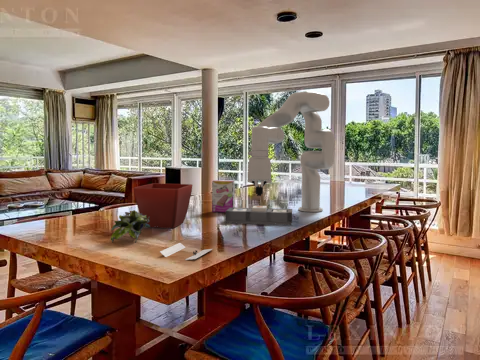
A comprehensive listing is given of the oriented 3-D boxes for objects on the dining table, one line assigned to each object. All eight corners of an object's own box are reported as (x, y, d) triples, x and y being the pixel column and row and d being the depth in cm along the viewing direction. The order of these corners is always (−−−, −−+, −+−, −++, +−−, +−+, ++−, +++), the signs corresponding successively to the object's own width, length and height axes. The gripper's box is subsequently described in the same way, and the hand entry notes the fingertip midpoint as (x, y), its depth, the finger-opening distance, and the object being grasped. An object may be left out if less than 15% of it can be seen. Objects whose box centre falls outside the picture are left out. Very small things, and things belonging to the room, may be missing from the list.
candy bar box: (211, 212, 186) (211, 180, 185) (213, 210, 191) (213, 179, 190) (233, 212, 185) (233, 180, 184) (234, 211, 190) (234, 180, 188)
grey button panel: (230, 217, 172) (230, 206, 172) (292, 219, 168) (292, 208, 167) (224, 223, 158) (224, 211, 158) (291, 225, 154) (292, 213, 154)
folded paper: (195, 262, 104) (195, 256, 103) (159, 258, 108) (159, 251, 108) (213, 252, 115) (213, 245, 115) (180, 248, 119) (180, 242, 119)
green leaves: (132, 253, 132) (150, 221, 137) (142, 255, 122) (161, 220, 127) (101, 237, 127) (120, 204, 132) (109, 238, 117) (130, 202, 122)
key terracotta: (253, 212, 166) (253, 205, 166) (266, 212, 165) (266, 205, 165) (252, 214, 160) (252, 207, 160) (265, 214, 159) (265, 207, 159)
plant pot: (177, 230, 143) (177, 188, 142) (133, 228, 147) (132, 187, 145) (193, 221, 162) (193, 184, 160) (153, 220, 165) (153, 183, 164)
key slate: (234, 214, 168) (234, 208, 167) (247, 215, 167) (247, 208, 166) (232, 217, 162) (232, 210, 161) (245, 217, 161) (245, 210, 161)
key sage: (273, 216, 165) (273, 209, 165) (286, 216, 164) (286, 209, 164) (272, 218, 159) (272, 211, 159) (286, 219, 158) (286, 211, 158)
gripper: (242, 154, 158) (241, 196, 159) (276, 154, 156) (275, 197, 157) (244, 154, 165) (243, 194, 167) (277, 154, 163) (276, 195, 164)
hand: (259, 195), depth 162 cm, fingers closed
